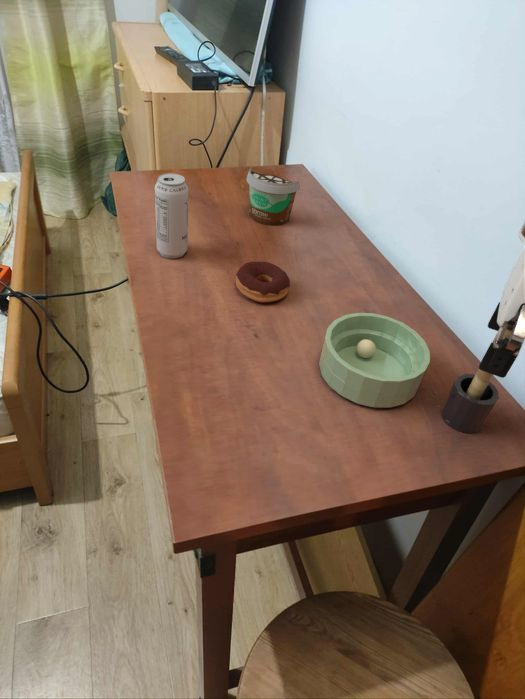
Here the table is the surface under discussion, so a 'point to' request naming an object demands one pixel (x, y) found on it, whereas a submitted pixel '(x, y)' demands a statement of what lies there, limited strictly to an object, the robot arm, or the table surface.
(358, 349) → the ball
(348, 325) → the bowl
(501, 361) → the robot arm
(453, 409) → the holder
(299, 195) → the table surface
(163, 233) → the energy drink can
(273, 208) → the food container
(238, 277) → the donut
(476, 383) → the stick
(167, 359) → the table surface
